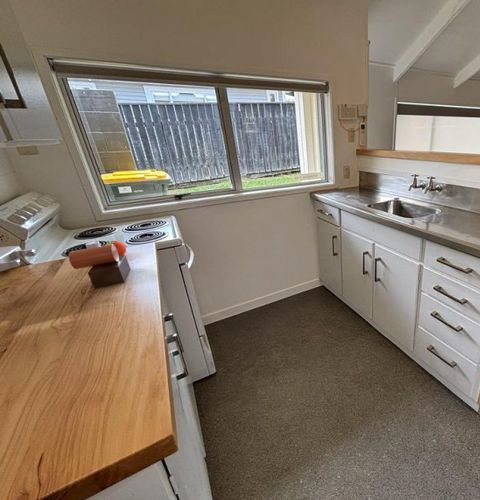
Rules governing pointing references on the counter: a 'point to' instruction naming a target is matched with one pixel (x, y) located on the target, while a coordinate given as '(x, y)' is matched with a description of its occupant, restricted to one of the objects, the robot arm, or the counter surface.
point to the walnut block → (110, 273)
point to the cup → (93, 256)
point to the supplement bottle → (92, 244)
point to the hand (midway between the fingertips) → (27, 257)
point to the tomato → (118, 247)
